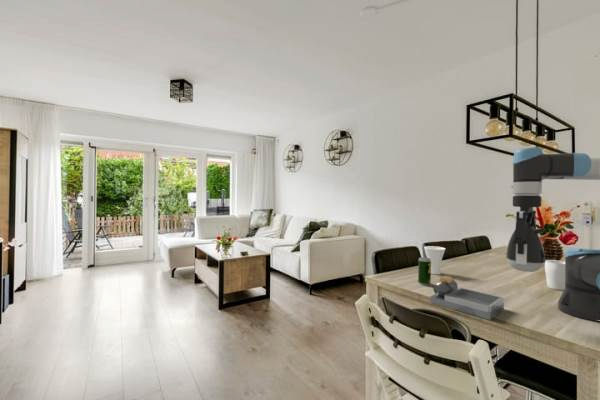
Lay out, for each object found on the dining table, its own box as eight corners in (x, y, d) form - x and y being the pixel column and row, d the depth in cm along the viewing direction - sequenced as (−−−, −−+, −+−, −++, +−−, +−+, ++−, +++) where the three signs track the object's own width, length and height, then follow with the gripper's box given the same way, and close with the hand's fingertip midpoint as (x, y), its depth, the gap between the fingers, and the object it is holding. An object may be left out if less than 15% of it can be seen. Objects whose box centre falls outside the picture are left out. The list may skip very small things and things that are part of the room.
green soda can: (417, 284, 134) (417, 258, 134) (418, 281, 138) (419, 256, 138) (430, 286, 131) (430, 260, 131) (431, 283, 136) (431, 257, 136)
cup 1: (449, 275, 150) (450, 249, 150) (430, 276, 148) (431, 249, 148) (437, 270, 160) (437, 245, 160) (419, 270, 159) (420, 246, 159)
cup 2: (542, 283, 137) (542, 258, 137) (567, 287, 132) (568, 261, 132) (546, 289, 129) (547, 262, 129) (573, 292, 125) (574, 265, 124)
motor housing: (503, 309, 105) (504, 284, 105) (490, 320, 96) (490, 293, 96) (447, 294, 121) (447, 272, 121) (430, 302, 111) (430, 279, 111)
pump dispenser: (546, 276, 89) (547, 227, 89) (505, 270, 95) (506, 224, 95) (544, 269, 97) (545, 224, 97) (506, 264, 104) (507, 222, 103)
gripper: (521, 195, 106) (520, 255, 106) (503, 194, 91) (501, 264, 92) (548, 195, 100) (547, 258, 101) (532, 194, 86) (531, 269, 86)
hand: (525, 261), depth 96 cm, fingers closed on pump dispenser, 10 cm apart
